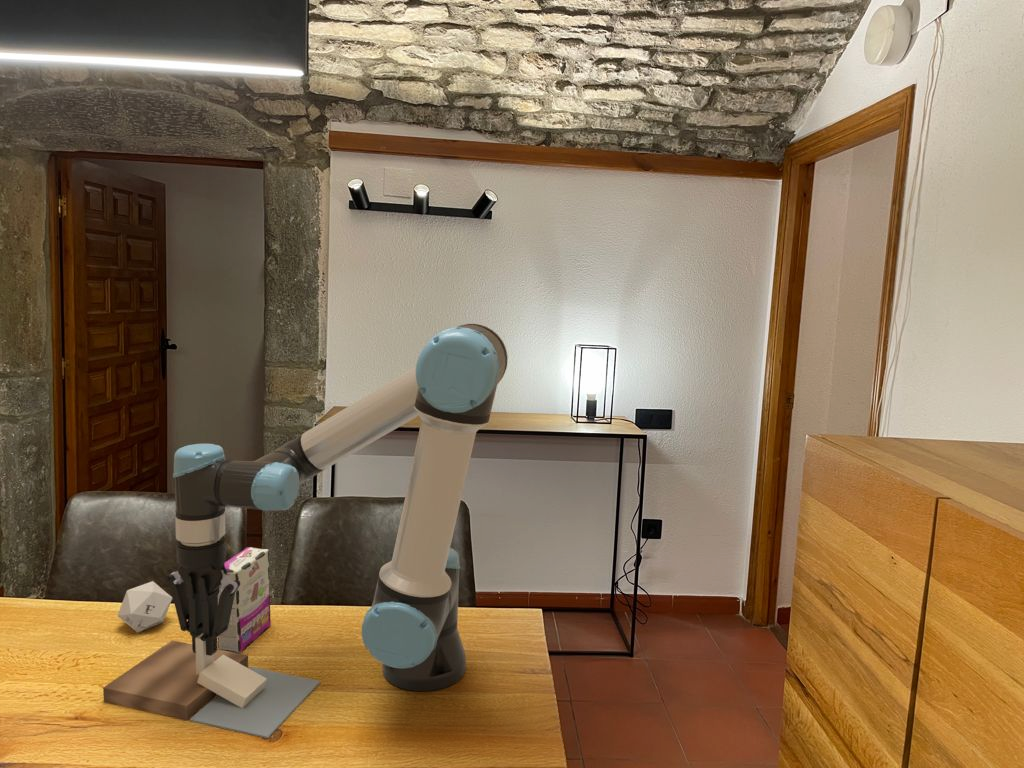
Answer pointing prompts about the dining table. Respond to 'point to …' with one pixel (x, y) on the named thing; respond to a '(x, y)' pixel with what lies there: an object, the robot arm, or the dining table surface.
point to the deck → (165, 682)
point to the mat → (259, 705)
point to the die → (144, 606)
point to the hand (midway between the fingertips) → (205, 670)
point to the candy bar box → (247, 599)
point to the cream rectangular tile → (232, 681)
